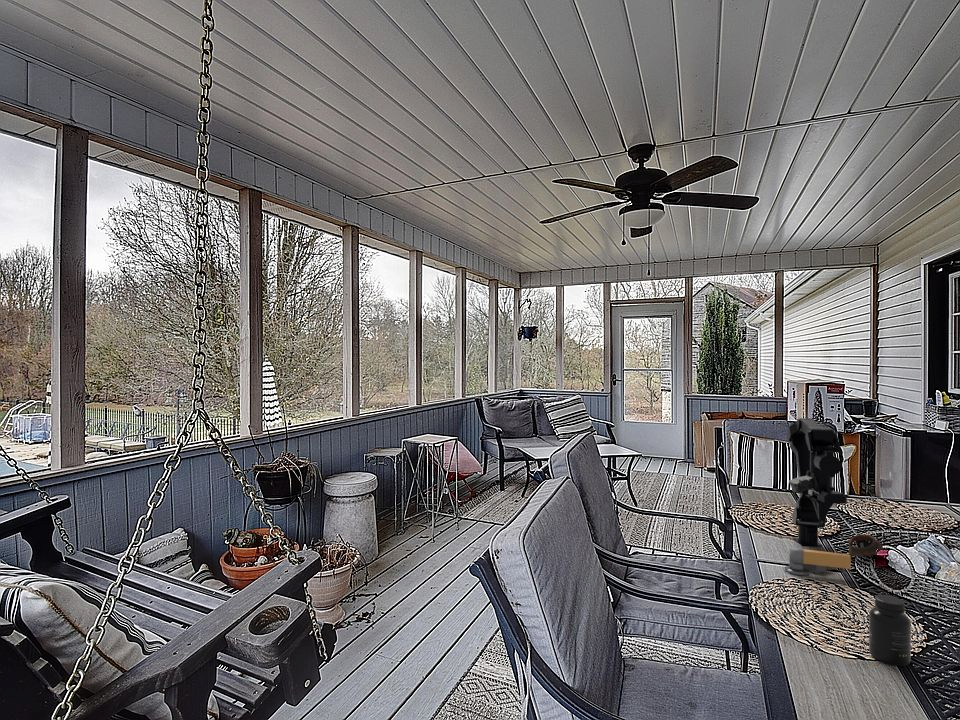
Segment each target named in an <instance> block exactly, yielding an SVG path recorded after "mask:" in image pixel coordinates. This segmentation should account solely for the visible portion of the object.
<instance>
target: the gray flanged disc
mask: <svg viewBox="0 0 960 720" xmlns="http://www.w3.org/2000/svg"><path fill="white" fill-rule="evenodd" d="M788 564H789V565H785V566H784V571H785V572H786V573H788V574H790V575H793V576H798V577H799V576H801V577H806V576H808V575H809V574H810V571H808V570H807V569H805V568H804V563H803V564H796V563H792V562H790V561H789V563H788Z"/></svg>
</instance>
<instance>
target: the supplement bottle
mask: <svg viewBox="0 0 960 720" xmlns="http://www.w3.org/2000/svg"><path fill="white" fill-rule="evenodd" d="M874 600H875V601H874V607H873V608H871V609H870V611H869V615H868V651H869V653H870V655H871V656H872V657H873V658H874V659H876V660H878V661H879V662H882V663H885V664H887V665H891V666H895V667H905V666H908V665H909V664H910V663H911V655H912V654H911V653H912V650H911V649H912V646H911V645H912V644H911V643H912V641H911V640H912V639H911V638H912V635H911V633H912V631H911V630H912V627H911V626H912V623H911V619H910V618H909V616H908V615H907V614H905V613H906V608H905V601H904V600H903V599H900V598H899V597H896V596H893V595H888V594H876V595H875V598H874Z"/></svg>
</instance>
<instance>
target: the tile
mask: <svg viewBox="0 0 960 720" xmlns="http://www.w3.org/2000/svg"><path fill="white" fill-rule="evenodd" d="M804 568H805V569H807V570H808V571H809V573H813V574H820V573H824V572H826V571H828V570H827V566H820V565H812V564H804Z"/></svg>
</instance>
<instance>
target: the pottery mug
mask: <svg viewBox="0 0 960 720" xmlns="http://www.w3.org/2000/svg"><path fill="white" fill-rule="evenodd" d="M853 543H854V544H855V546H854V545H853ZM877 549H878V550H883V551H884V546H883V544H882V543H881V542H880V541H879V540H877V539H876V538H875V536H872V535H869V534H864V533H863V534H861V533H860V534H856V535H854V536H852V537H851V538H850V539H849V540H848V554H849V555H850V556H851V559H854V557H863V558H864V557H869V556H873V555H877V552H876V550H877Z"/></svg>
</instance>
